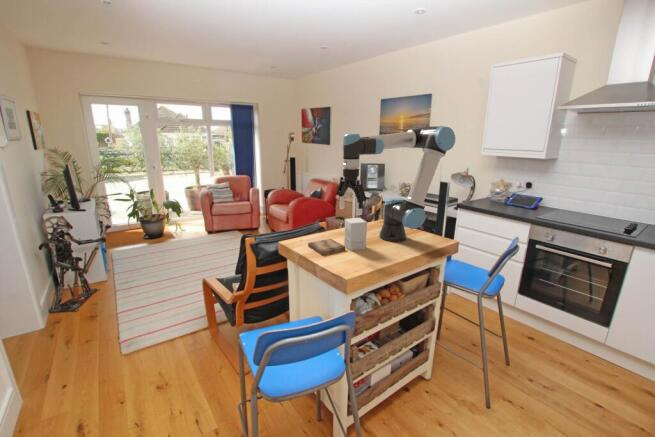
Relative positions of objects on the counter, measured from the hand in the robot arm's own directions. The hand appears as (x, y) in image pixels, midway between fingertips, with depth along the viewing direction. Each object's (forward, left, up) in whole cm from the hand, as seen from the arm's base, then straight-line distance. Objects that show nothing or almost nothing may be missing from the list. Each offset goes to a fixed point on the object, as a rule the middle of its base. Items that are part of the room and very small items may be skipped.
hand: (350, 212), depth 150 cm
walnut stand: (+7, -11, -21) cm, 25 cm away
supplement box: (-7, -5, -22) cm, 23 cm away
